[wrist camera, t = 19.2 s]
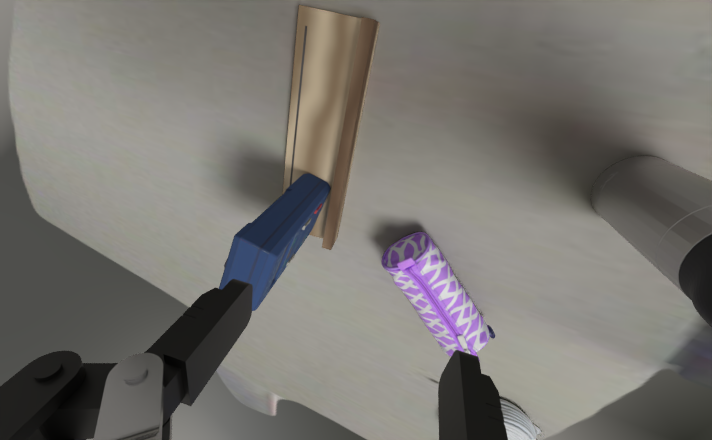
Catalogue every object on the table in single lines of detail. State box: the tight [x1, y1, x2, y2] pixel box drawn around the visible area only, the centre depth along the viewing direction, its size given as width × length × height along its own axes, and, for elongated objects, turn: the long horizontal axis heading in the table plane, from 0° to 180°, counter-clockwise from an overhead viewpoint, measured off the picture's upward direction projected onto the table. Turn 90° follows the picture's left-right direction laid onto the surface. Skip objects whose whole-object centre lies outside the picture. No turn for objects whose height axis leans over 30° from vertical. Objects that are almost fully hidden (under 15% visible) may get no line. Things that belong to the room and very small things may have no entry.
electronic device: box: [219, 173, 331, 311], centre depth 41 cm, size 10×5×20 cm, turn 155°
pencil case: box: [382, 232, 495, 361], centre depth 49 cm, size 22×9×10 cm, turn 36°
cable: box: [500, 399, 544, 440], centre depth 64 cm, size 18×18×6 cm
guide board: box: [282, 5, 380, 250], centre depth 44 cm, size 10×32×4 cm, turn 169°
